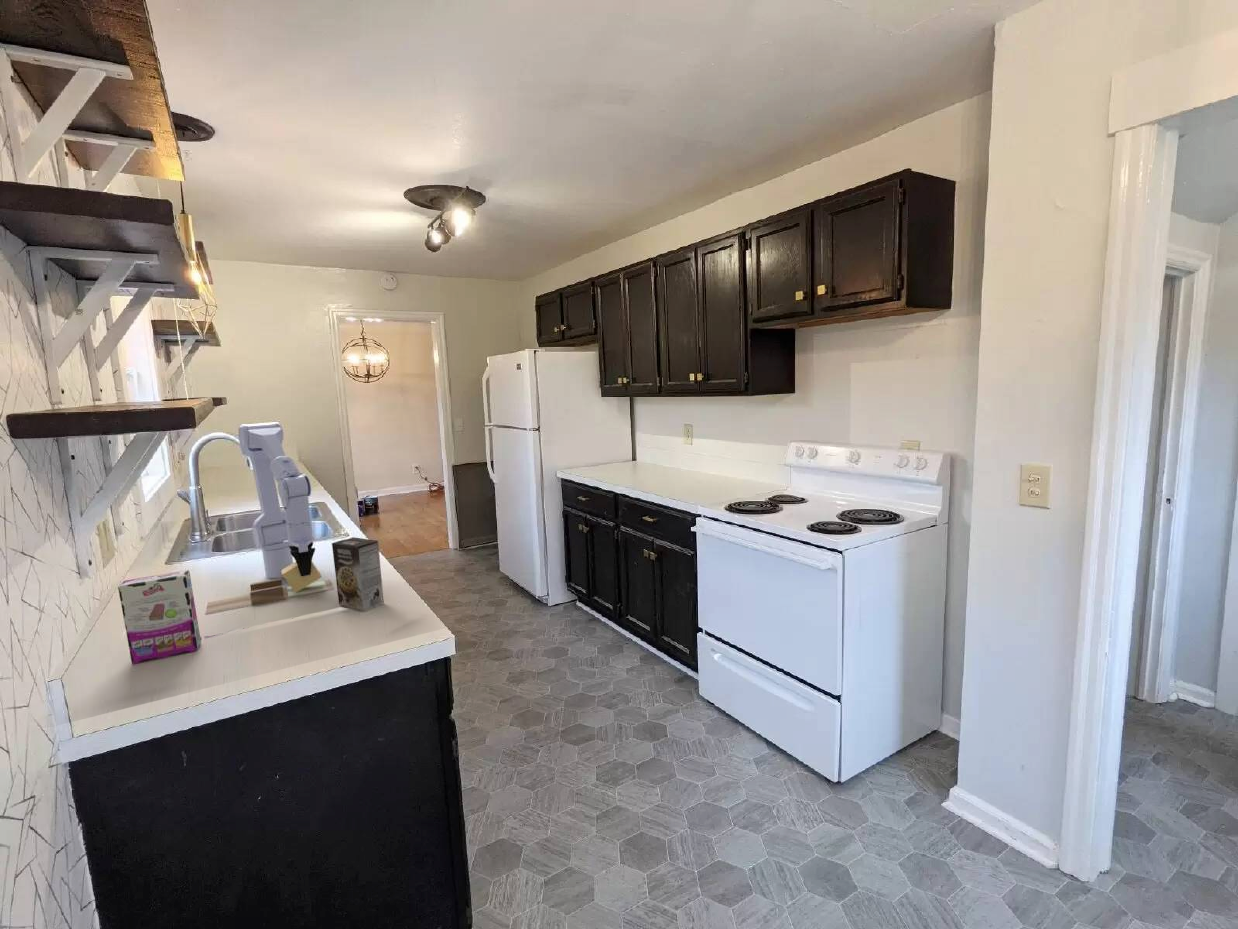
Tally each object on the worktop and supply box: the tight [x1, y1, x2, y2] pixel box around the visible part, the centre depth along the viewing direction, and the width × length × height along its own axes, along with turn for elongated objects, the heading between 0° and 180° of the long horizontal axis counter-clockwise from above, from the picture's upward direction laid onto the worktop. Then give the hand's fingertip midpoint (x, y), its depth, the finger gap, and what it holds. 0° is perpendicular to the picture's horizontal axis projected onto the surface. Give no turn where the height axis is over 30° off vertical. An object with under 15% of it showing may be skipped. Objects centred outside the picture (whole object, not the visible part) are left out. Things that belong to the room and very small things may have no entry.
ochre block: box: [281, 561, 322, 593], centre depth 157 cm, size 4×7×6 cm, turn 121°
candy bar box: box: [117, 569, 202, 665], centre depth 123 cm, size 11×5×16 cm, turn 117°
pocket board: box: [204, 577, 335, 616], centre depth 154 cm, size 10×28×4 cm, turn 121°
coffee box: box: [331, 536, 385, 613], centre depth 146 cm, size 9×6×16 cm
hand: (305, 572), depth 158 cm, fingers closed on ochre block, 4 cm apart
